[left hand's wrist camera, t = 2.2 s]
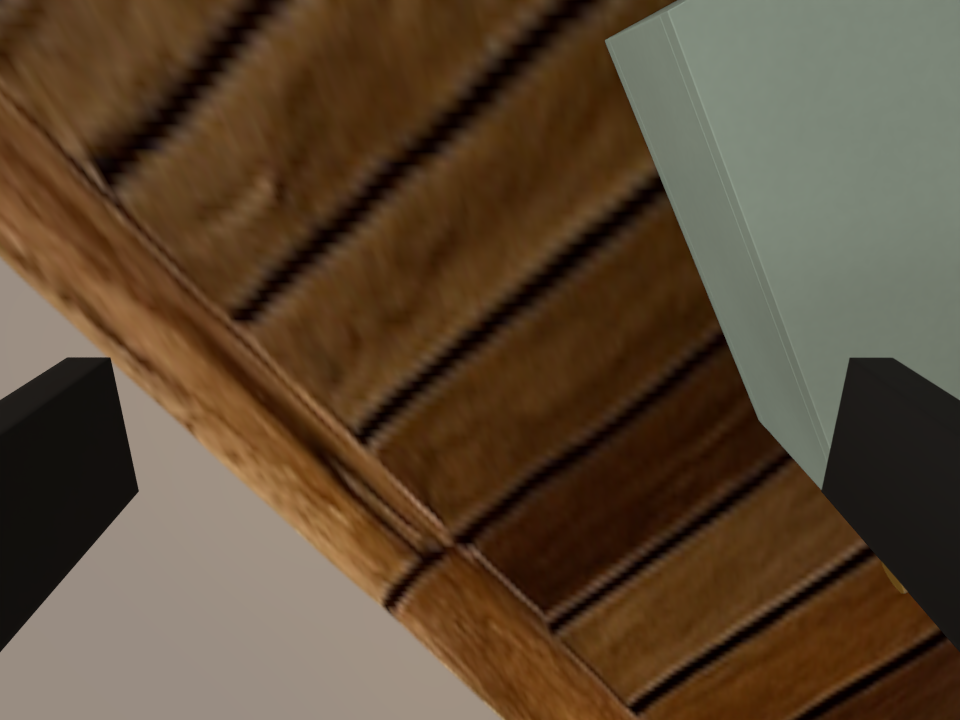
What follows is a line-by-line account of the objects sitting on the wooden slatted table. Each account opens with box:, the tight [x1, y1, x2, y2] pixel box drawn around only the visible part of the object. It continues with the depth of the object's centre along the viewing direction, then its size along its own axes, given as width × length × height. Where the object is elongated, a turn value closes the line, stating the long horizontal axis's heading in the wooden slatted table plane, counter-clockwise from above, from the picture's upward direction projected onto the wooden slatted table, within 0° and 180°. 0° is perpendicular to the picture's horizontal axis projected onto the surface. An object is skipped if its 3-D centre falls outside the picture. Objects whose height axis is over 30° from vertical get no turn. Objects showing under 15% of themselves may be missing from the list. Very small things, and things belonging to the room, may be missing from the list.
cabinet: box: [605, 0, 960, 490], centre depth 27 cm, size 21×11×10 cm, turn 27°
